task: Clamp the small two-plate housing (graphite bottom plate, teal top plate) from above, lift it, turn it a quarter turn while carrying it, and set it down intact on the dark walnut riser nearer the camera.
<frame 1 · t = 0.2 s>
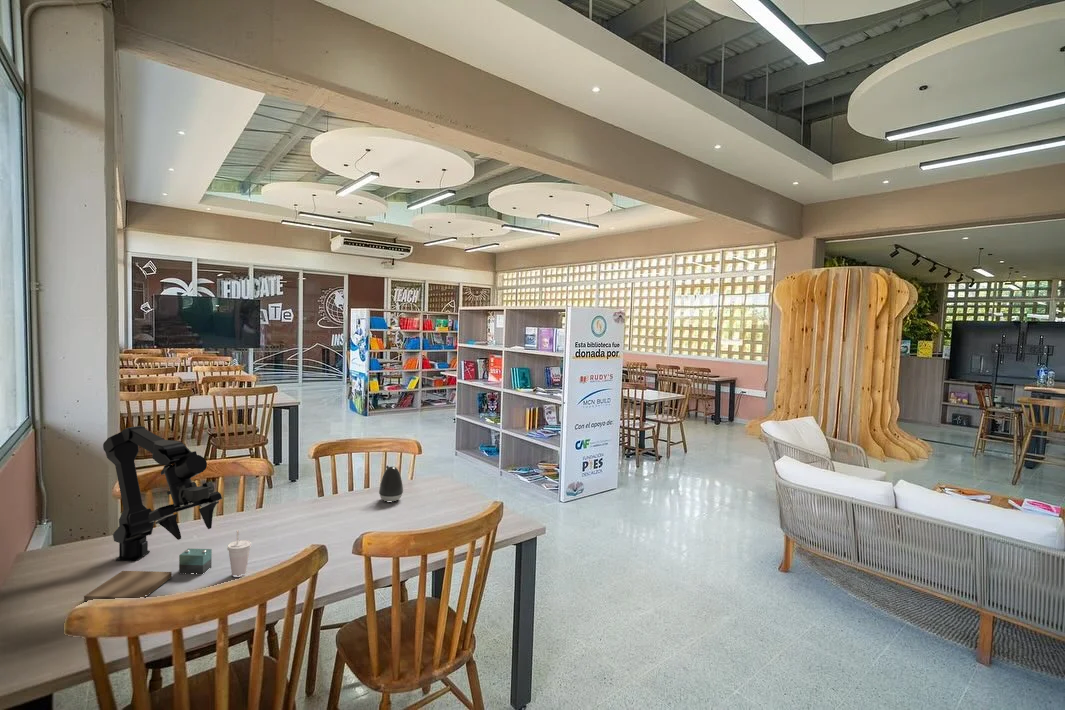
hand: (195, 533, 152), 14 cm above the table, tool tilted 30°, fingers open, 9 cm apart
smoothie: (239, 575, 157), on the table
stand: (130, 590, 146), on the table
housing: (195, 570, 158), on the table
black egg-shaped speaker: (390, 500, 227), on the table
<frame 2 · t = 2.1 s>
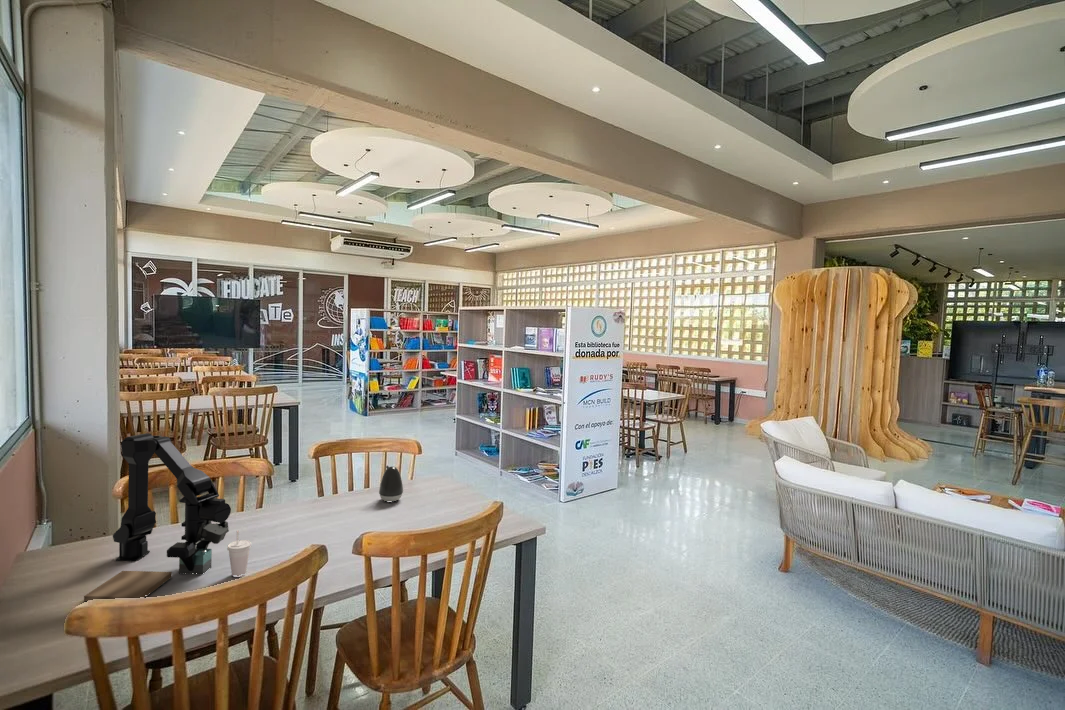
hand: (195, 566, 158), 1 cm above the table, tool pointing down, fingers closed on housing, 4 cm apart
housing: (195, 570, 158), on the table, touching gripper
everything else where it was.
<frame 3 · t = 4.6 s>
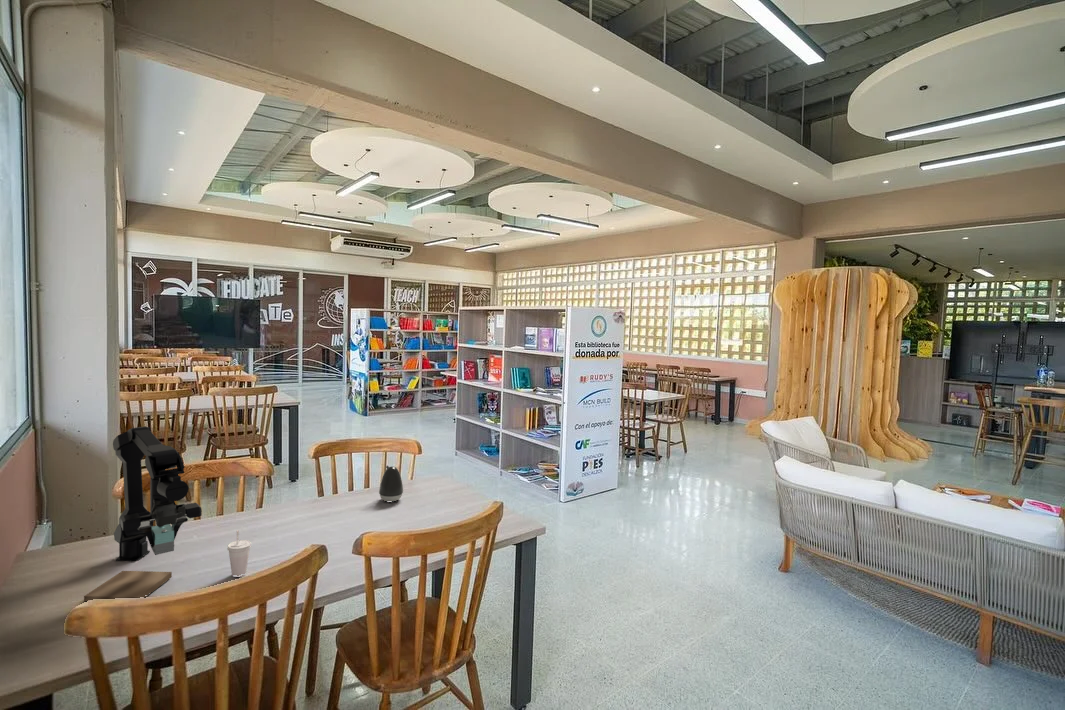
hand: (162, 544, 151), 11 cm above the table, tool pointing down, fingers closed on housing, 4 cm apart
housing: (162, 548, 151), point 10 cm above the table, touching gripper
everything else where it was.
when the fingers open (4 cm above the table, at t = 7.0 s): housing drops 1 cm, resting on stand.
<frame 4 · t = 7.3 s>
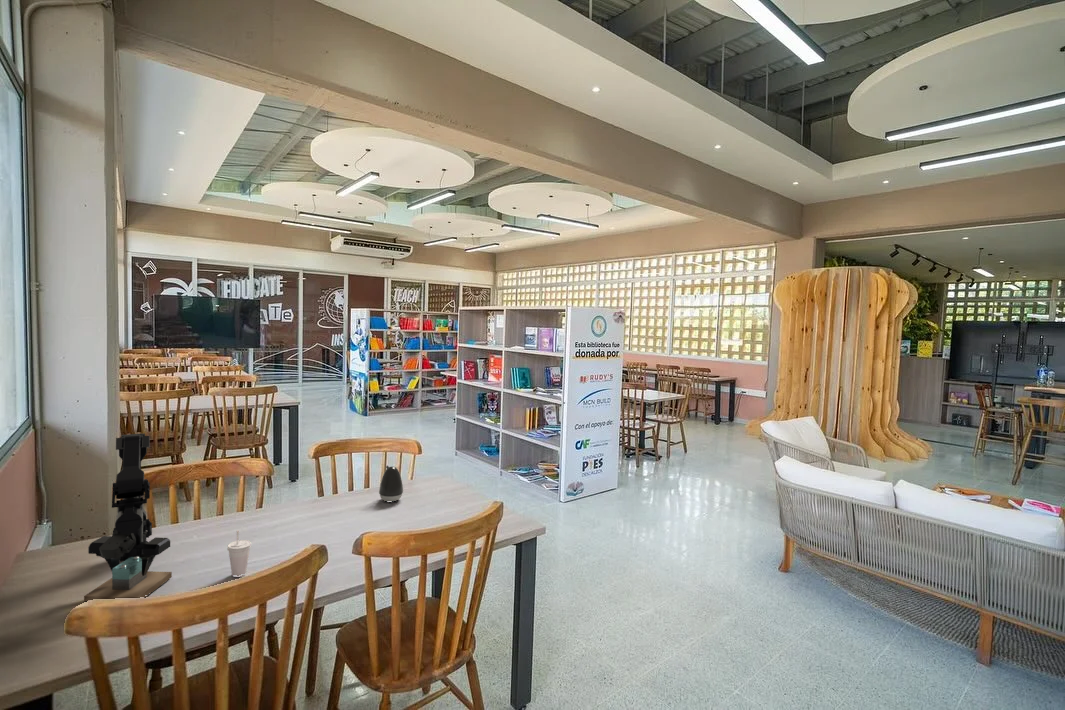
hand: (130, 574, 145), 4 cm above the table, tool pointing down, fingers open, 7 cm apart
housing: (129, 583, 145), point 2 cm above the table, touching stand
everything else where it was.
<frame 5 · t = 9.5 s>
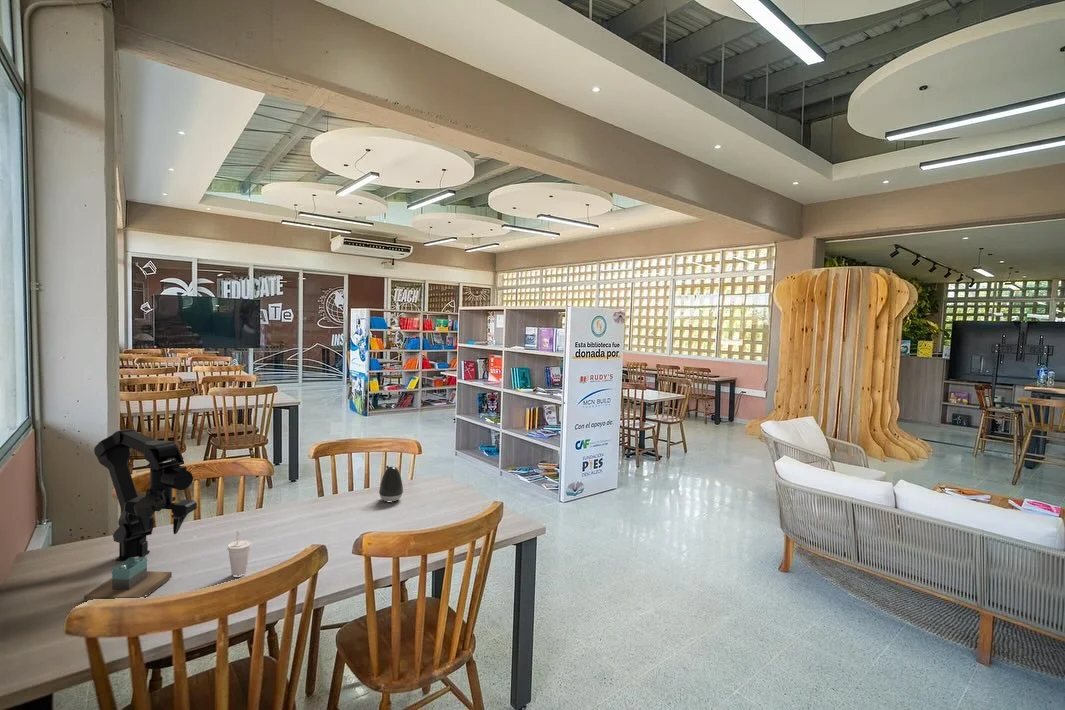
hand: (160, 532, 159), 11 cm above the table, tool pointing down, fingers open, 9 cm apart
nothing on the table moved.
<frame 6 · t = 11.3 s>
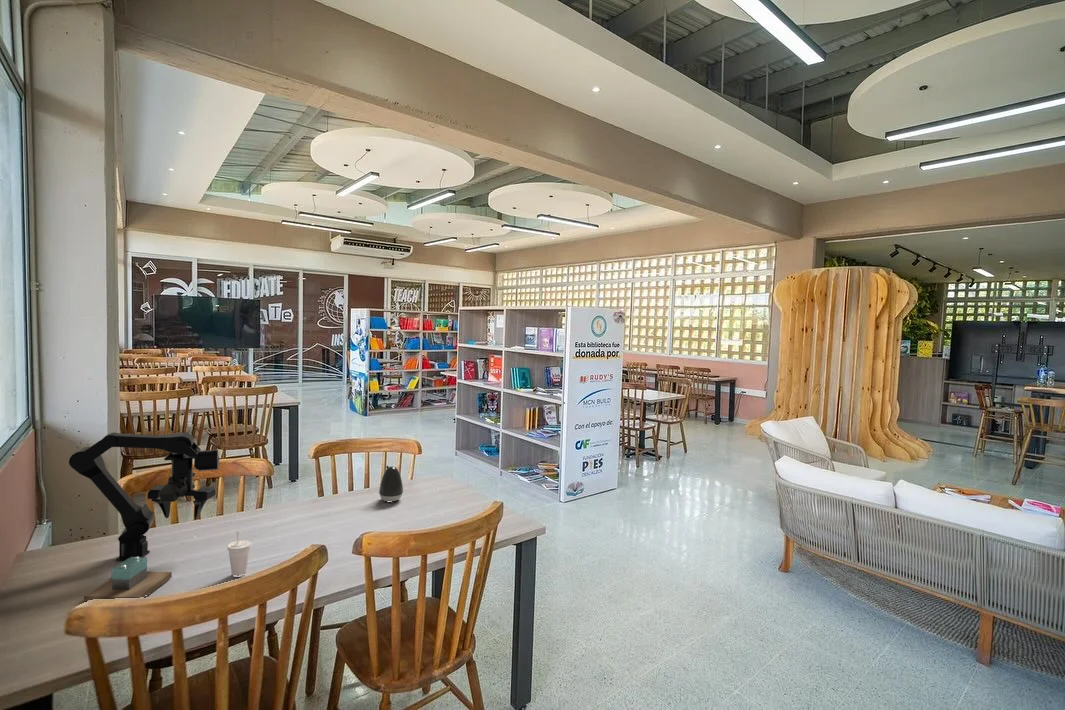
hand: (181, 518, 170), 11 cm above the table, tool pointing down, fingers open, 9 cm apart
nothing on the table moved.
at the end: housing inside the target area on the stand (0.0 cm from its centre), point 2.0 cm above the stand's base; housing tilted 0°; the gripper is holding nothing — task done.
